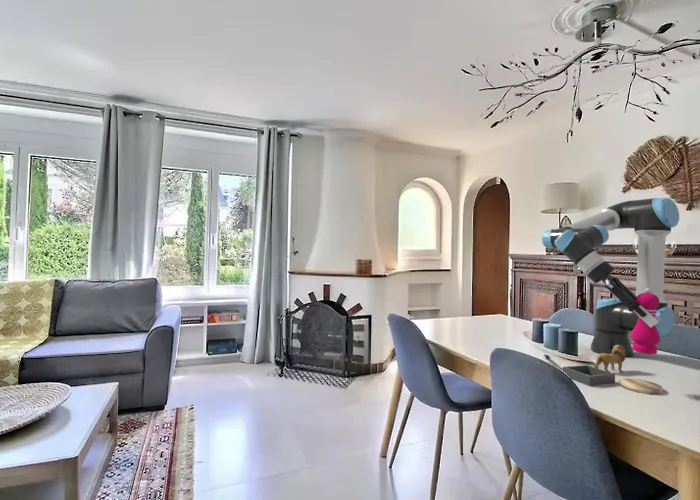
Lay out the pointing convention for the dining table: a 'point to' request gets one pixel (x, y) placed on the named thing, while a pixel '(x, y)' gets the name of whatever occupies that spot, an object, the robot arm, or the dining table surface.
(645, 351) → the pepper mill
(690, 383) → the dining table surface
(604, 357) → the lion figurine
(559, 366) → the paintbrush
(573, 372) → the dark gray square tray
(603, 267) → the robot arm
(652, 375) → the dining table surface
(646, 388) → the cork coaster
